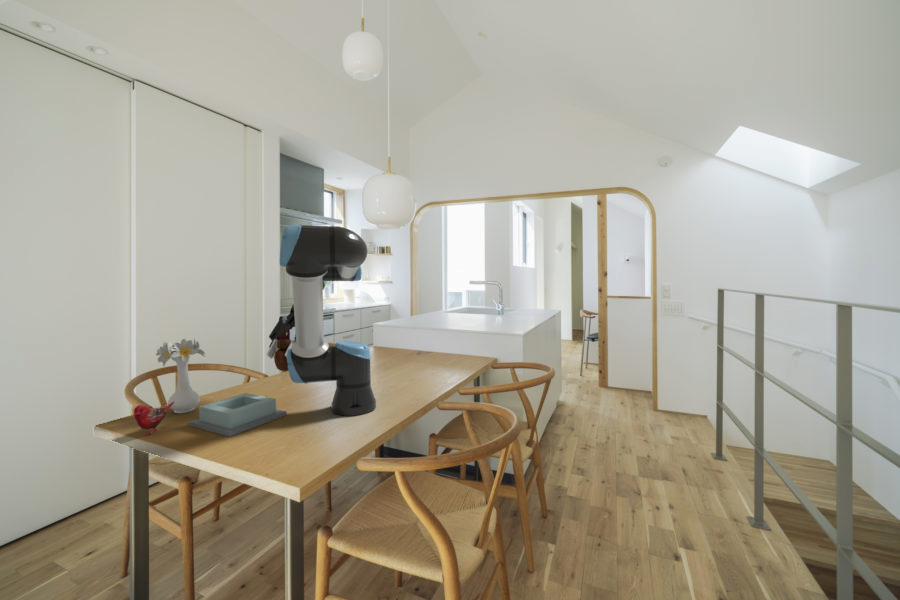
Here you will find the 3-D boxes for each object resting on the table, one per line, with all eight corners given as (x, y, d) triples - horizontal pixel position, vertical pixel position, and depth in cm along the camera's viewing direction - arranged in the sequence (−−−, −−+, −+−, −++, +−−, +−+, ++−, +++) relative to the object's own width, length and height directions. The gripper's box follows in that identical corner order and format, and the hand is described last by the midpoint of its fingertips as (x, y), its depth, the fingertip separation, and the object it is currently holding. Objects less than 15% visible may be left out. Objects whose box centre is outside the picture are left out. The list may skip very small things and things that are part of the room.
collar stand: (286, 414, 131) (286, 398, 131) (229, 436, 113) (229, 417, 113) (247, 406, 140) (246, 390, 140) (188, 425, 122) (187, 407, 122)
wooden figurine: (298, 368, 142) (297, 327, 141) (287, 372, 137) (285, 329, 136) (283, 367, 144) (282, 326, 143) (271, 371, 139) (270, 328, 138)
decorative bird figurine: (129, 443, 109) (127, 408, 108) (170, 420, 127) (168, 389, 126) (140, 443, 109) (138, 408, 109) (179, 420, 127) (178, 389, 126)
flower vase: (182, 402, 145) (179, 334, 144) (218, 408, 139) (215, 337, 137) (144, 413, 133) (140, 340, 132) (181, 420, 126) (177, 343, 125)
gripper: (330, 312, 152) (307, 363, 137) (285, 312, 156) (259, 361, 141) (322, 300, 147) (298, 351, 132) (276, 299, 151) (248, 349, 136)
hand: (278, 356), depth 137 cm, fingers closed on wooden figurine, 6 cm apart
